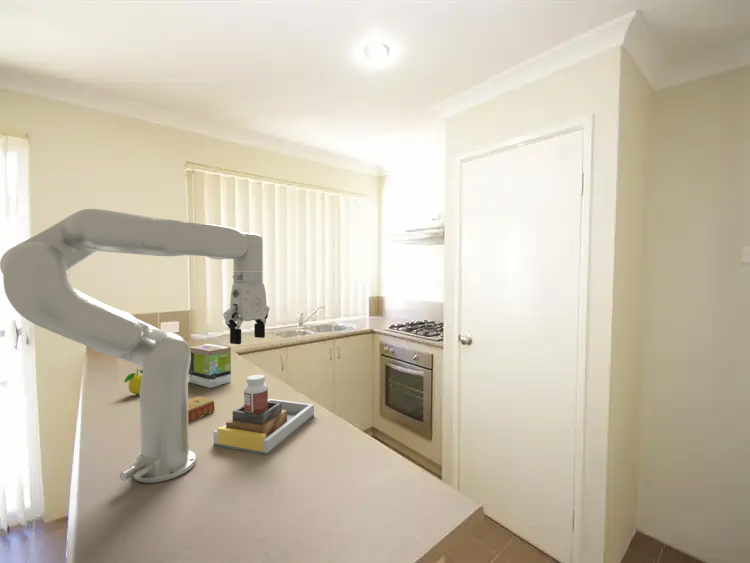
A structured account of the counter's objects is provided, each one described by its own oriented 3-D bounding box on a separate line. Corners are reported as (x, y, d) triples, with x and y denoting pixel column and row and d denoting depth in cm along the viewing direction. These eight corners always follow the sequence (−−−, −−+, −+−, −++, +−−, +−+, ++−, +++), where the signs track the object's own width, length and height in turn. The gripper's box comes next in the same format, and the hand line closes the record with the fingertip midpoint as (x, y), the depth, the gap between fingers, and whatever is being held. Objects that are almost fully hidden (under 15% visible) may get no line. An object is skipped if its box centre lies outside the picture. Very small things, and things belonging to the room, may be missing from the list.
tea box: (231, 382, 145) (231, 346, 144) (209, 389, 136) (208, 351, 136) (210, 376, 153) (209, 342, 152) (187, 382, 144) (187, 346, 144)
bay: (267, 455, 88) (267, 436, 88) (213, 445, 93) (213, 427, 92) (313, 415, 112) (313, 401, 111) (269, 409, 116) (269, 395, 116)
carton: (214, 412, 114) (214, 399, 114) (165, 432, 100) (164, 418, 100) (198, 407, 119) (198, 395, 118) (148, 426, 105) (148, 411, 104)
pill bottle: (270, 412, 100) (270, 373, 100) (264, 421, 94) (264, 380, 93) (248, 412, 100) (248, 373, 99) (241, 421, 93) (240, 380, 93)
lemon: (152, 392, 132) (152, 366, 132) (140, 398, 126) (140, 370, 126) (136, 391, 133) (135, 365, 133) (123, 397, 127) (123, 369, 127)
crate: (261, 447, 90) (261, 418, 90) (226, 440, 93) (226, 412, 93) (287, 427, 101) (286, 401, 101) (254, 422, 105) (254, 397, 104)
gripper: (236, 279, 87) (237, 347, 88) (278, 278, 104) (278, 336, 104) (213, 278, 90) (213, 345, 90) (257, 278, 106) (257, 334, 107)
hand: (248, 340), depth 97 cm, fingers open, 9 cm apart
